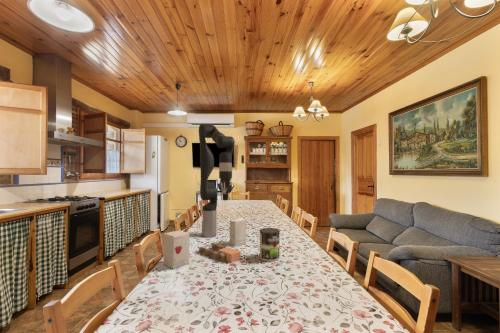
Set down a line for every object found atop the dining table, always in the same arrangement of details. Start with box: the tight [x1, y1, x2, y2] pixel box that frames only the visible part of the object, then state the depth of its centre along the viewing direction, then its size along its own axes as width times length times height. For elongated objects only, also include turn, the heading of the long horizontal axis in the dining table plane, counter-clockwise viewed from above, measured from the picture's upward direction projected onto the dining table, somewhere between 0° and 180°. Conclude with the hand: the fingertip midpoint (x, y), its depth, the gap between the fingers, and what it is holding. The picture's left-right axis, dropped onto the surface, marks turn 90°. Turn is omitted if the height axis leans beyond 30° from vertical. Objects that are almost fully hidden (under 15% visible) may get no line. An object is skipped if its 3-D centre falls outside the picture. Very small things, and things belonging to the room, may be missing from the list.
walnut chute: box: [198, 242, 239, 262], centre depth 137 cm, size 20×11×4 cm, turn 46°
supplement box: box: [162, 230, 190, 270], centre depth 123 cm, size 9×9×15 cm
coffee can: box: [259, 227, 281, 262], centre depth 133 cm, size 10×10×14 cm
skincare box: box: [229, 217, 247, 247], centre depth 155 cm, size 8×6×15 cm
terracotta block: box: [217, 246, 242, 263], centre depth 130 cm, size 10×6×4 cm, turn 46°
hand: (225, 200), depth 151 cm, fingers closed
